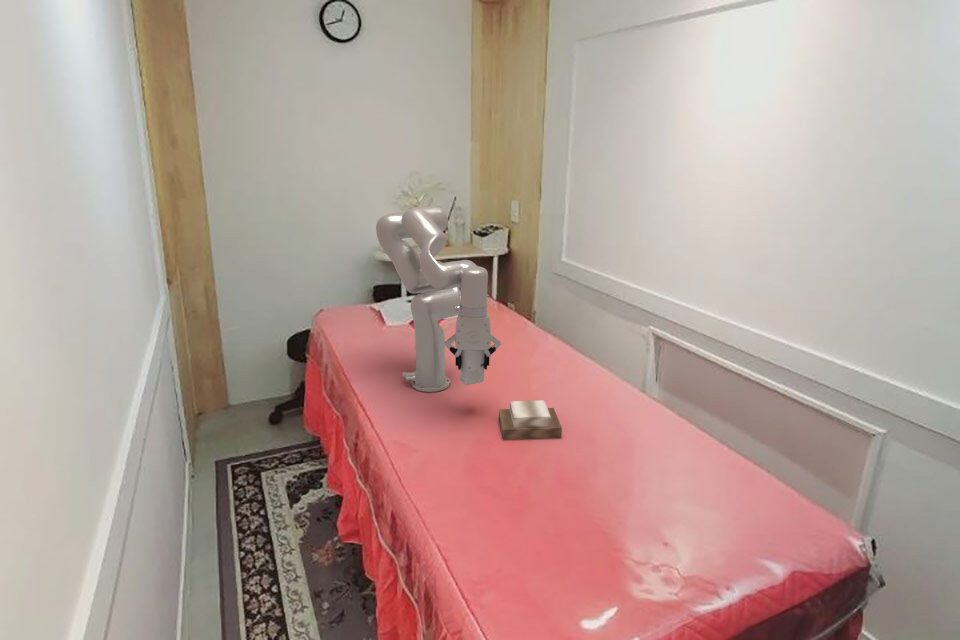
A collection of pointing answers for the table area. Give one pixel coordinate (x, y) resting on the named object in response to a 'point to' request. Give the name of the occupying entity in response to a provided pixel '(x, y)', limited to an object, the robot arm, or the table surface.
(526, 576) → the table surface
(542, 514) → the table surface
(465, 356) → the skincare box
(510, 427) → the block stack
